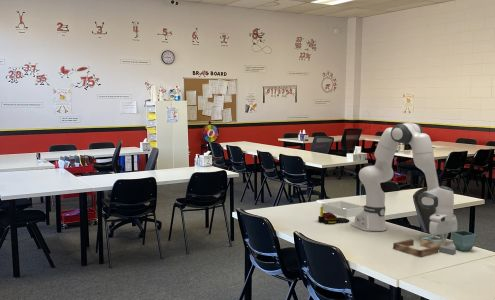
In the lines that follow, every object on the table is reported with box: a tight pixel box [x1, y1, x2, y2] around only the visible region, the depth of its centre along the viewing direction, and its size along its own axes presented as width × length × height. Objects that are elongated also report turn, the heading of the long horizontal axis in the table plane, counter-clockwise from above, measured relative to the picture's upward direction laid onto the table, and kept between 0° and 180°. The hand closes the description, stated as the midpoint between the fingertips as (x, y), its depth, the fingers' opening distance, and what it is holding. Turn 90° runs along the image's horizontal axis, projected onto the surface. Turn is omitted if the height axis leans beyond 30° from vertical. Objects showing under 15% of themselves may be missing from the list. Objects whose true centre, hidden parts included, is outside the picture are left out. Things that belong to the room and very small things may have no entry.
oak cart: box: [419, 235, 446, 249], centre depth 260 cm, size 10×8×5 cm
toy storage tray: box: [321, 200, 365, 219], centre depth 338 cm, size 25×19×6 cm
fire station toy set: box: [317, 206, 350, 225], centre depth 312 cm, size 14×20×11 cm
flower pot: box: [451, 230, 477, 252], centre depth 254 cm, size 9×9×9 cm
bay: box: [392, 239, 439, 258], centre depth 252 cm, size 17×14×3 cm
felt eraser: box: [438, 245, 457, 256], centre depth 249 cm, size 7×4×3 cm, turn 45°
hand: (443, 241), depth 264 cm, fingers closed
